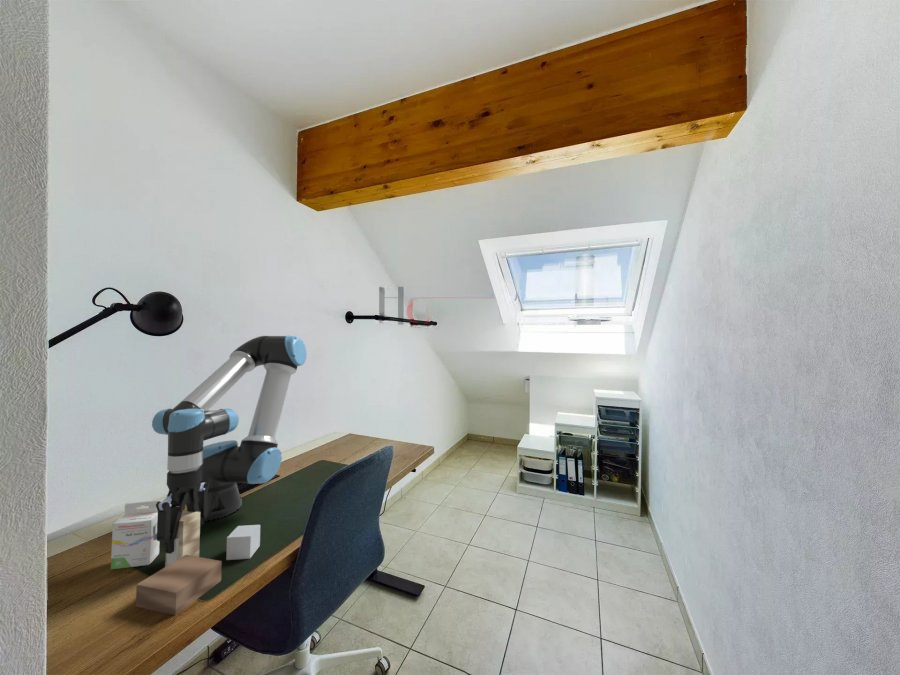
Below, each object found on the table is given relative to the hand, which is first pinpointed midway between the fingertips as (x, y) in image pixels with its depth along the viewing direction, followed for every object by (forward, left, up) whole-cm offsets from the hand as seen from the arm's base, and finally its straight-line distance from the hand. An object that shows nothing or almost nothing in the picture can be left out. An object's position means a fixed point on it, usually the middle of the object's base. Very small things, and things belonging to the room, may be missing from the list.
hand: (182, 556), depth 90 cm
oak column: (0, 0, -1) cm, 1 cm away
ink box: (+2, -12, -2) cm, 12 cm away
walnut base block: (+10, +10, -2) cm, 14 cm away
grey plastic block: (-6, +13, -1) cm, 14 cm away
